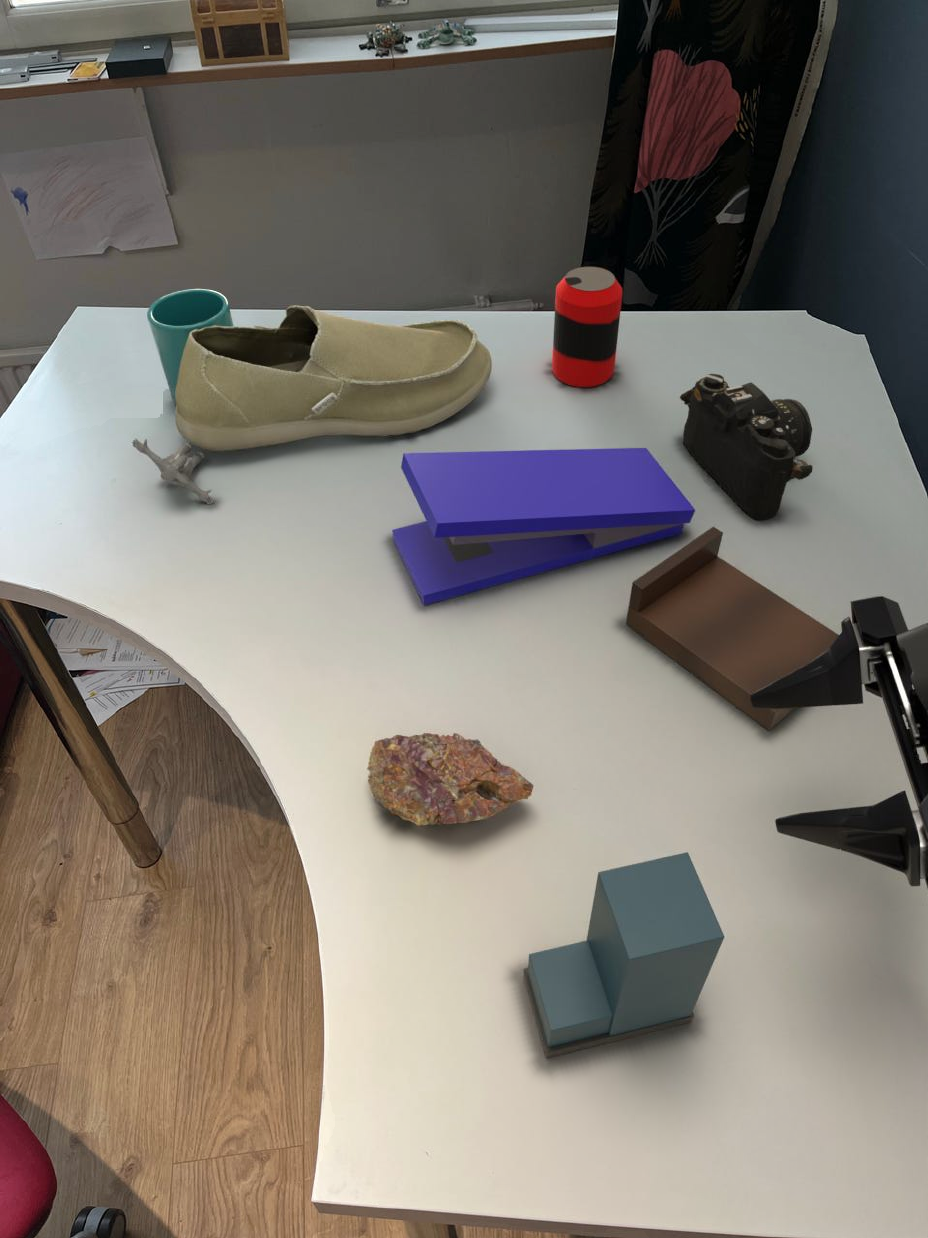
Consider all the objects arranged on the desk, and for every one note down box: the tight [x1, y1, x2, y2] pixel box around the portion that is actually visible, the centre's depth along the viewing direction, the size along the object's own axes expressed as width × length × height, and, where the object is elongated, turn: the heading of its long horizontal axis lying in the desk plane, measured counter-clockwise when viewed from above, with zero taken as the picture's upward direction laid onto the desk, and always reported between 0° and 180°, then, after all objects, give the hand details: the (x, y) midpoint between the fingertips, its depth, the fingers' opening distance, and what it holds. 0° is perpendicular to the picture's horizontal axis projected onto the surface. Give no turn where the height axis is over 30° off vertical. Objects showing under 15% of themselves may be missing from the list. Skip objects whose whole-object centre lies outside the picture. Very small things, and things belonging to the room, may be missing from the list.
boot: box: [522, 851, 725, 1059], centre depth 57 cm, size 10×6×13 cm, turn 103°
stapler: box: [391, 447, 696, 606], centre depth 90 cm, size 12×28×10 cm, turn 110°
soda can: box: [551, 266, 623, 388], centre depth 109 cm, size 8×8×12 cm
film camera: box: [679, 373, 813, 521], centre depth 96 cm, size 18×12×10 cm
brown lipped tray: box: [625, 526, 840, 731], centre depth 81 cm, size 16×11×6 cm
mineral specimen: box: [366, 732, 534, 827], centre depth 71 cm, size 12×8×7 cm
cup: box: [146, 288, 235, 405], centre depth 109 cm, size 9×12×11 cm
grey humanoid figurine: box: [131, 438, 215, 505], centre depth 98 cm, size 10×6×9 cm
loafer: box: [174, 305, 493, 452], centre depth 103 cm, size 14×37×13 cm, turn 112°
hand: (762, 760), depth 57 cm, fingers open, 9 cm apart
